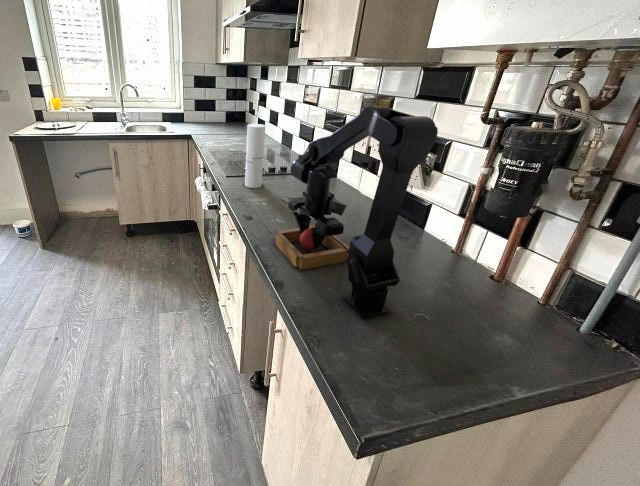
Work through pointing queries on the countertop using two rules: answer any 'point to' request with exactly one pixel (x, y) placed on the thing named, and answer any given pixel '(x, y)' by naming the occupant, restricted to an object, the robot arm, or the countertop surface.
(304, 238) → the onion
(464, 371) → the countertop surface
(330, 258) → the square wooden frame
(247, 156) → the cylindrical container
